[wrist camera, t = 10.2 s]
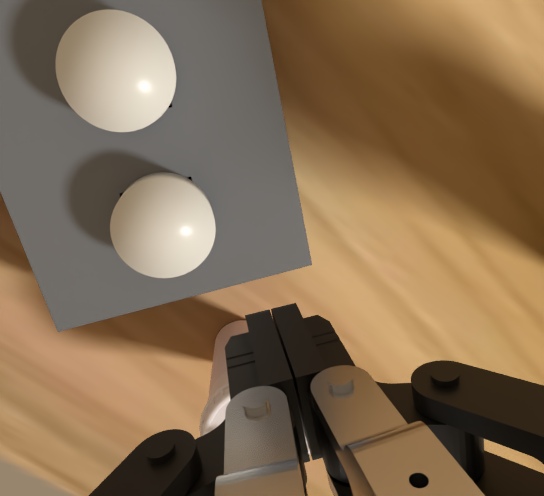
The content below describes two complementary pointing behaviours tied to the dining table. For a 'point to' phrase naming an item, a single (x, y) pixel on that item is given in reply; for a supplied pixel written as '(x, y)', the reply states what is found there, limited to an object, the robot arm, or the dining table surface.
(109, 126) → the knob middle
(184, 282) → the housing
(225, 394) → the smoothie
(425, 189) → the dining table surface
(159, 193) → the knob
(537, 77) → the dining table surface
